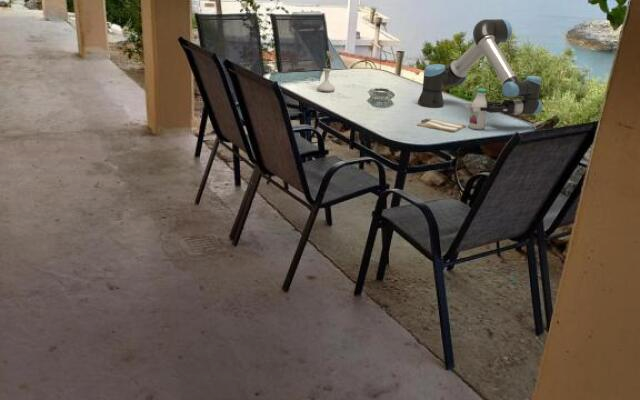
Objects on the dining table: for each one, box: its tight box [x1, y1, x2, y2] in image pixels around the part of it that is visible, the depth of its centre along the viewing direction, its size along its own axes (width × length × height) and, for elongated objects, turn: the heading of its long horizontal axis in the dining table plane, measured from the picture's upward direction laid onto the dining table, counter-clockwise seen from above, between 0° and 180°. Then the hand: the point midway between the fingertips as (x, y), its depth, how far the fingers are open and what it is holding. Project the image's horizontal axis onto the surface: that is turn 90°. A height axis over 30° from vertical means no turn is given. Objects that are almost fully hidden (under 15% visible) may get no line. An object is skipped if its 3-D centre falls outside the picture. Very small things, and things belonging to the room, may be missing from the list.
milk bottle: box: [468, 88, 488, 130], centre depth 300 cm, size 8×8×20 cm
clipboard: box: [416, 118, 466, 134], centre depth 303 cm, size 16×20×2 cm
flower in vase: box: [317, 50, 336, 93], centre depth 372 cm, size 13×11×25 cm
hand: (470, 106), depth 299 cm, fingers closed on milk bottle, 7 cm apart
